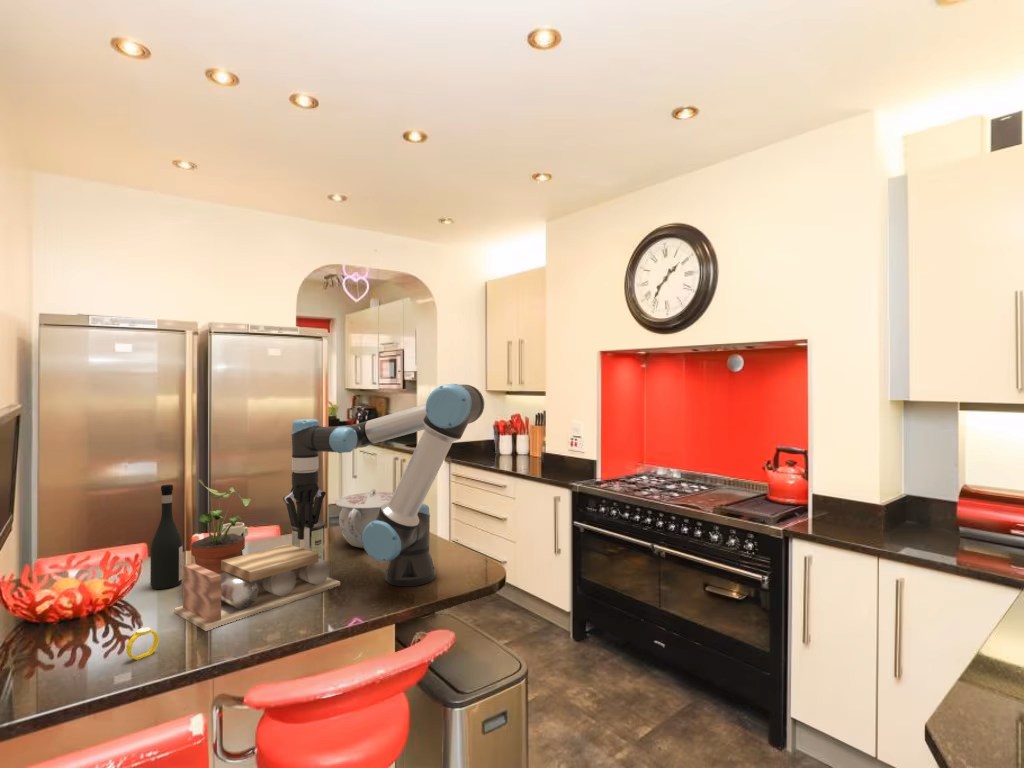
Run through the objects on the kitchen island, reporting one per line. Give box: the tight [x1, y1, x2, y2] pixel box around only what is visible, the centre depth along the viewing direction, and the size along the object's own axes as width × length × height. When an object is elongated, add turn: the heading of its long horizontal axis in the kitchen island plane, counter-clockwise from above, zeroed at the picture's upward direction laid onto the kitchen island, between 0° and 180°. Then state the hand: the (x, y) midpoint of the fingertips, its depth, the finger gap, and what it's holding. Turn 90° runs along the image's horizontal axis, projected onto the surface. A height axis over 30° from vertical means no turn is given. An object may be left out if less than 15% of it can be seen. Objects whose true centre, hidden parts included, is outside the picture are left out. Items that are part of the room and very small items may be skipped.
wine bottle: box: [149, 484, 183, 590], centre depth 162 cm, size 8×8×30 cm
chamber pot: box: [334, 488, 394, 549], centre depth 205 cm, size 28×28×21 cm
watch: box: [125, 627, 160, 661], centre depth 119 cm, size 6×3×6 cm, turn 151°
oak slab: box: [221, 543, 318, 582], centre depth 153 cm, size 16×20×2 cm
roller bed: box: [174, 559, 341, 632], centre depth 151 cm, size 18×38×12 cm, turn 143°
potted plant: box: [190, 478, 252, 574], centre depth 162 cm, size 16×15×35 cm
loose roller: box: [220, 572, 258, 609], centre depth 145 cm, size 12×7×7 cm, turn 53°
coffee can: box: [291, 520, 326, 561], centre depth 178 cm, size 10×10×14 cm
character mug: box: [221, 521, 249, 556], centre depth 182 cm, size 11×7×13 cm, turn 151°
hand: (304, 549), depth 162 cm, fingers closed
